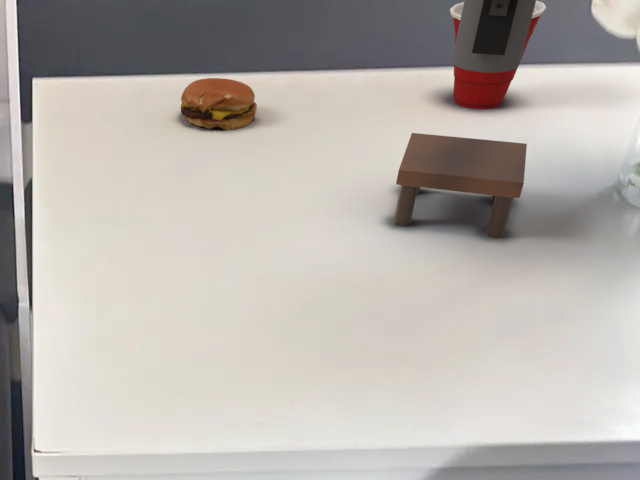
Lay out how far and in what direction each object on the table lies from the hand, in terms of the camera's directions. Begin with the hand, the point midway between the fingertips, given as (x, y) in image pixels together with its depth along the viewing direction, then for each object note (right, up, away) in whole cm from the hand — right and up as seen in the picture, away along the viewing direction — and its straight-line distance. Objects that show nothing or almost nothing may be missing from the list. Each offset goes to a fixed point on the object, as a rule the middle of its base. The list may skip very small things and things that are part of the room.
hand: (490, 43), depth 87 cm
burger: (-18, +5, +36) cm, 40 cm away
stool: (+1, -13, +10) cm, 16 cm away
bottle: (0, -2, +1) cm, 2 cm away
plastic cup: (+16, +8, +37) cm, 41 cm away
